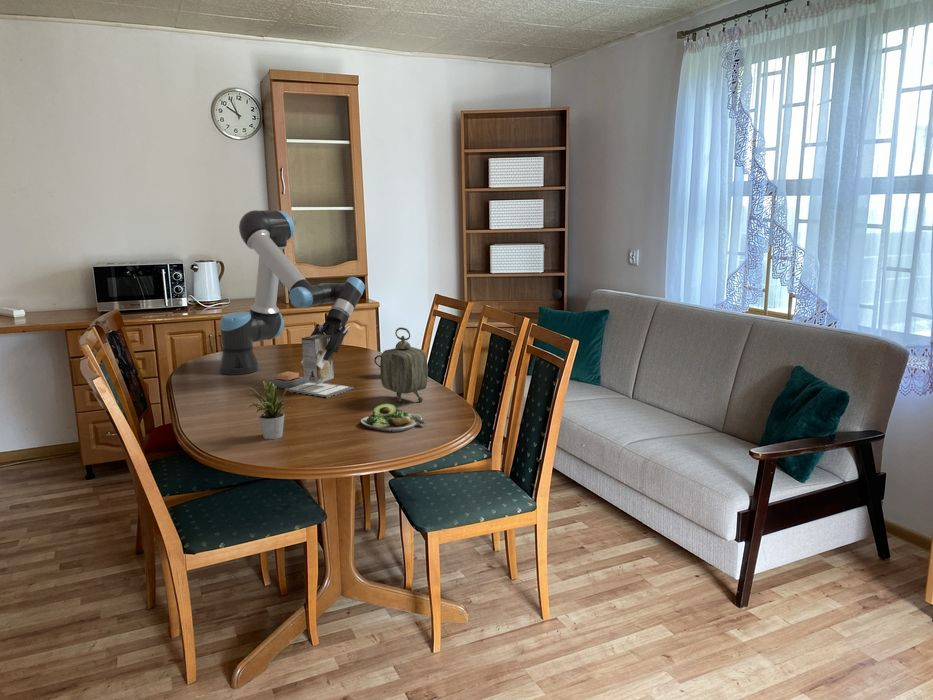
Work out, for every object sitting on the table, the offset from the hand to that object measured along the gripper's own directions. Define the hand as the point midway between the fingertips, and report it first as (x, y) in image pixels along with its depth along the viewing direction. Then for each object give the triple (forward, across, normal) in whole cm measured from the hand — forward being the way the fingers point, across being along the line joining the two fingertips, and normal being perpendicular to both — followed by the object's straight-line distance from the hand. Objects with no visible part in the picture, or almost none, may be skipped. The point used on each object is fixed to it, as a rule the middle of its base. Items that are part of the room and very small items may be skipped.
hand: (311, 365), depth 241 cm
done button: (+2, +15, -7) cm, 17 cm away
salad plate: (+18, -46, +4) cm, 49 cm away
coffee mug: (-17, -10, -31) cm, 36 cm away
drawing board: (+4, 0, -9) cm, 10 cm away
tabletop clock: (+2, -35, -12) cm, 37 cm away
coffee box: (+2, 0, -7) cm, 7 cm away
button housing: (+4, +15, -9) cm, 18 cm away
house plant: (+37, -23, +23) cm, 49 cm away
